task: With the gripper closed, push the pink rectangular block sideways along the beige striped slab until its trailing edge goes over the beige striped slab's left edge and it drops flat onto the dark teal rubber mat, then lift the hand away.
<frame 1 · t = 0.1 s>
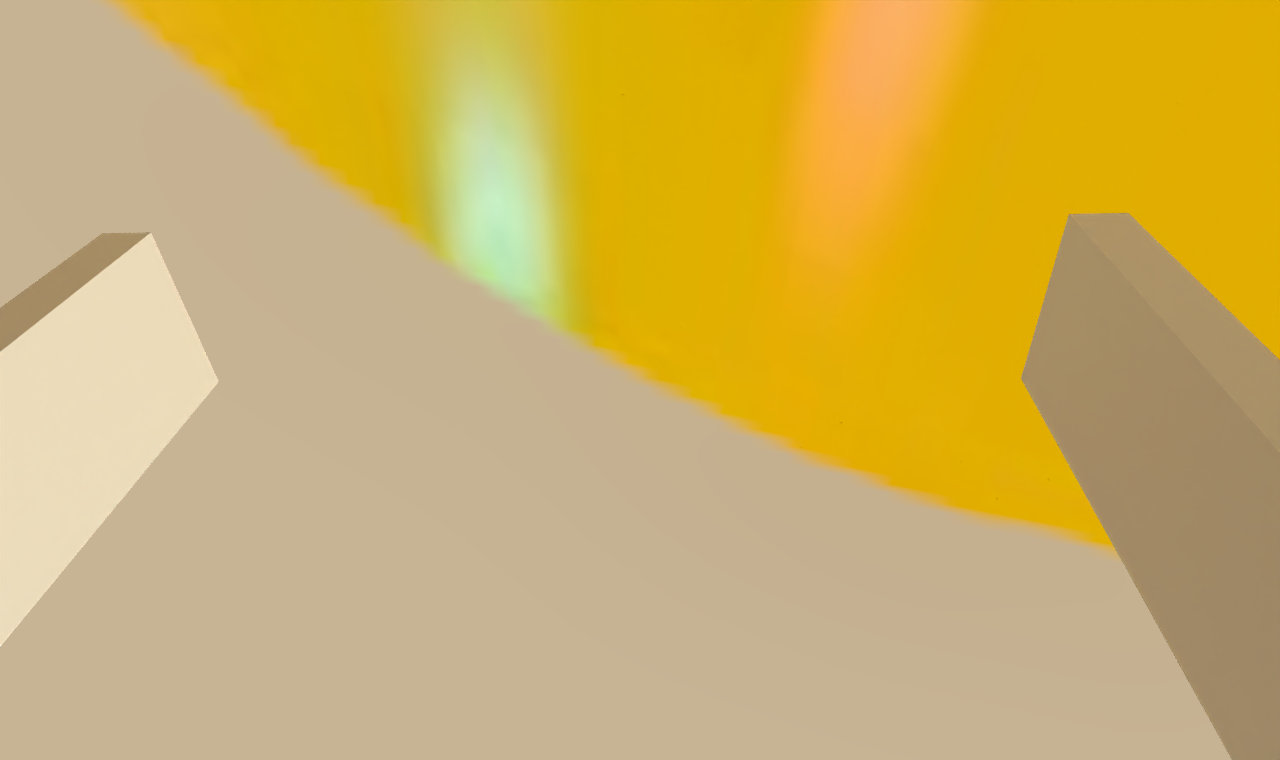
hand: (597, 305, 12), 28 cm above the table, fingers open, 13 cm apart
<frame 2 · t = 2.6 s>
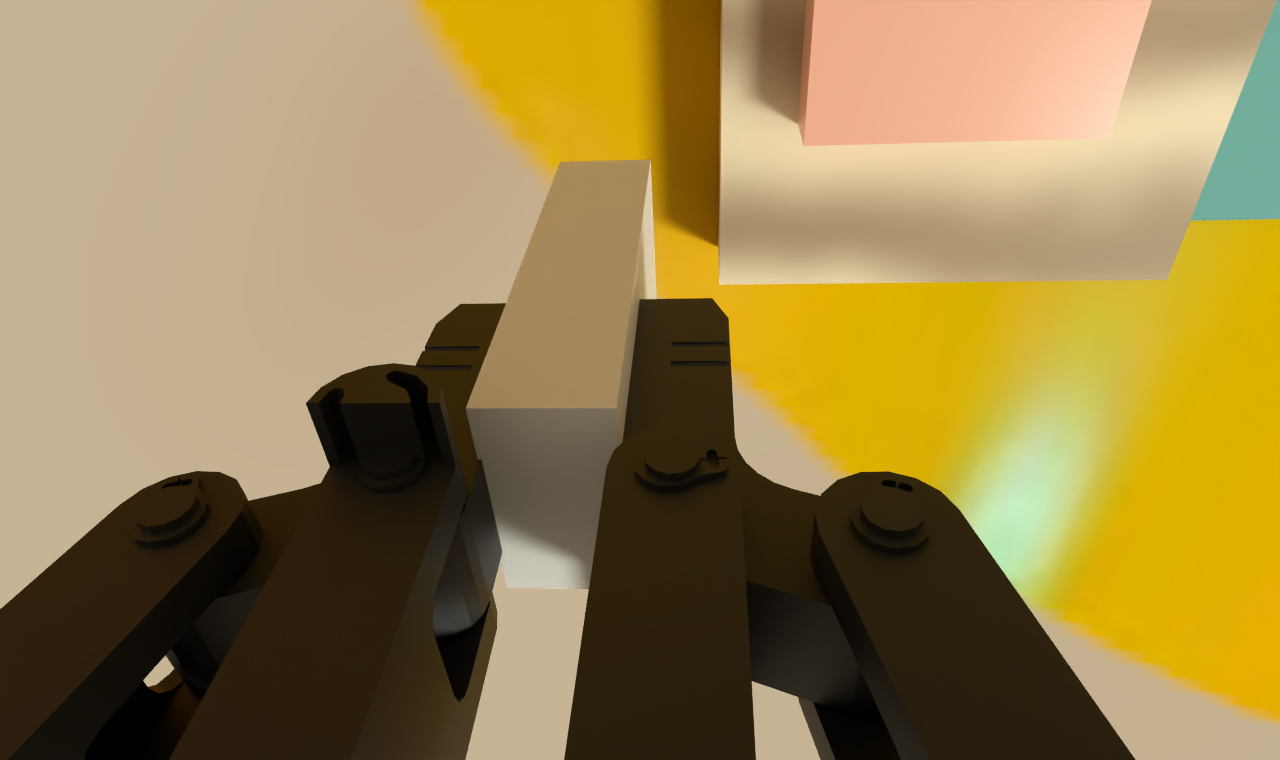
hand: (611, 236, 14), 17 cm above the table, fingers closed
pink rectangular block: (955, 20, 24), point 3 cm above the table, touching beige striped slab
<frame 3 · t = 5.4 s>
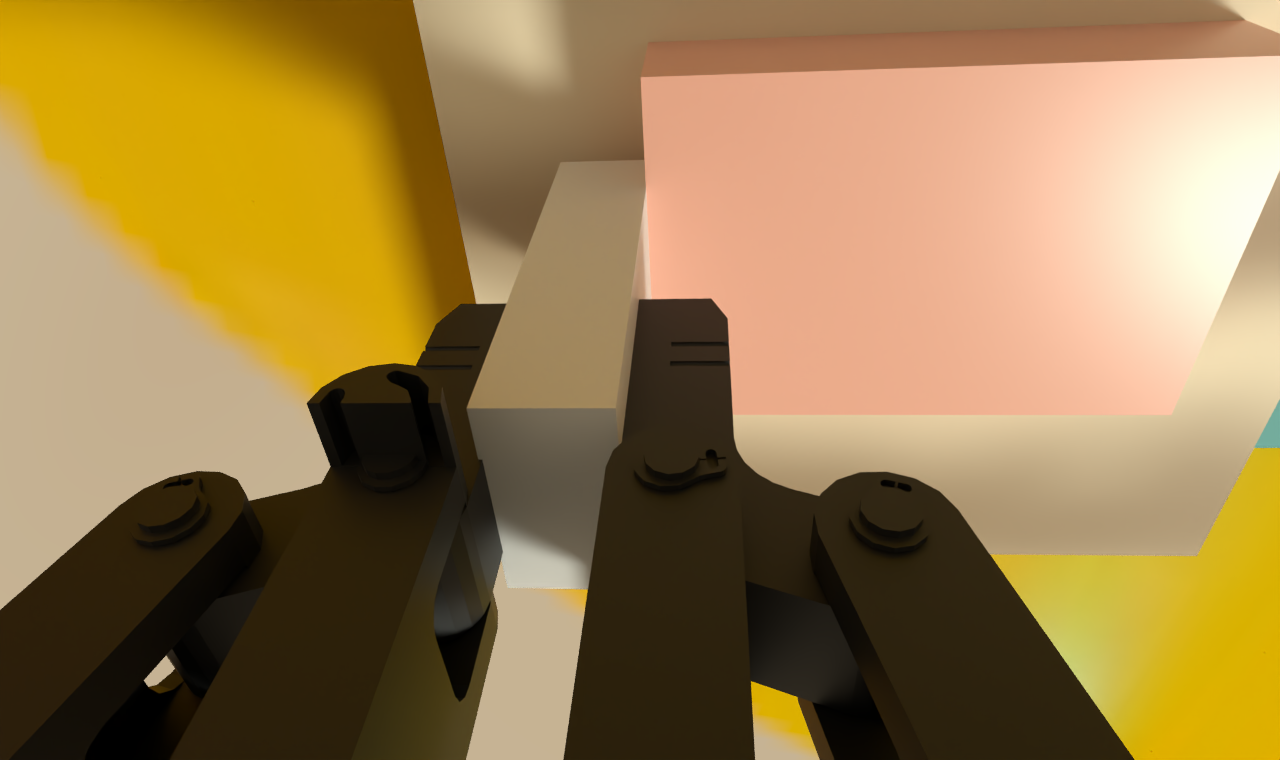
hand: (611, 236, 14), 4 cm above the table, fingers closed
beige striped slab: (871, 148, 16), on the table
pink rectangular block: (909, 212, 14), point 3 cm above the table, touching beige striped slab
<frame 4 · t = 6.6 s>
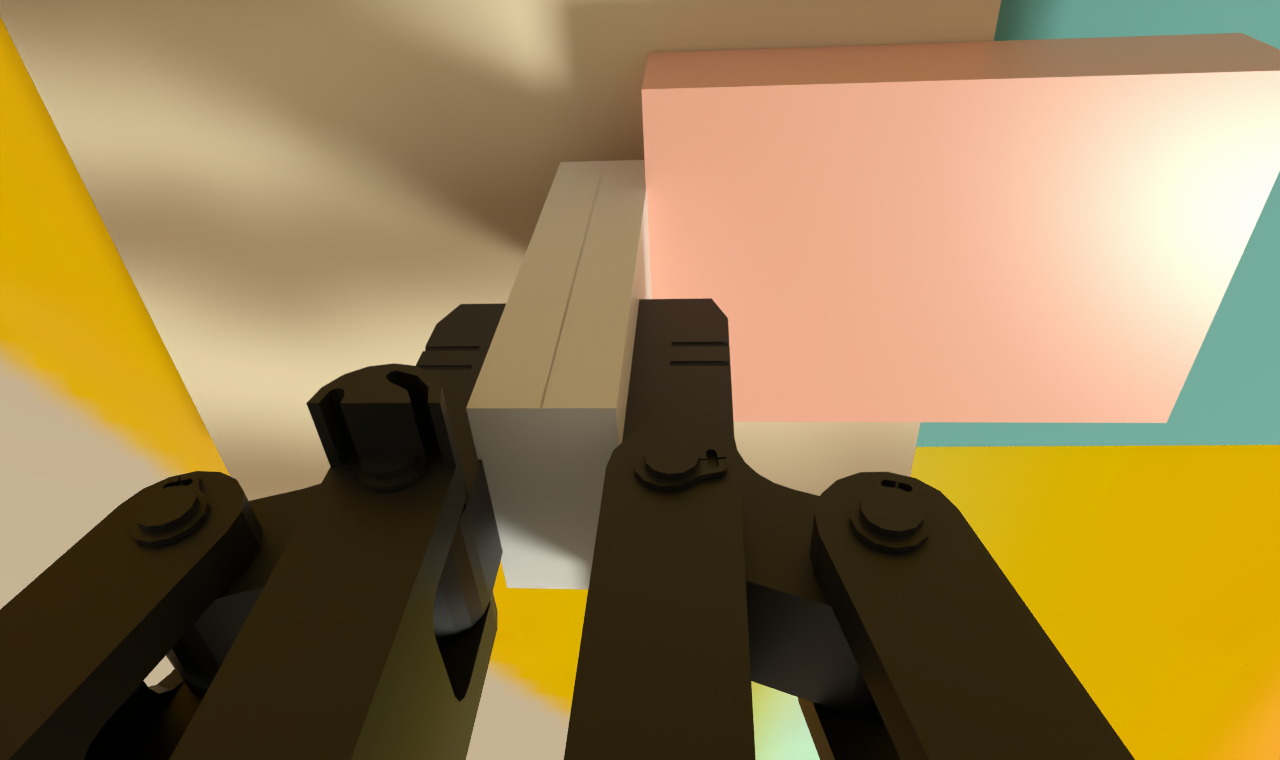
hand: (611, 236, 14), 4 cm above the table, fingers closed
beige striped slab: (541, 158, 17), on the table
pink rectangular block: (907, 220, 14), point 3 cm above the table, touching gripper
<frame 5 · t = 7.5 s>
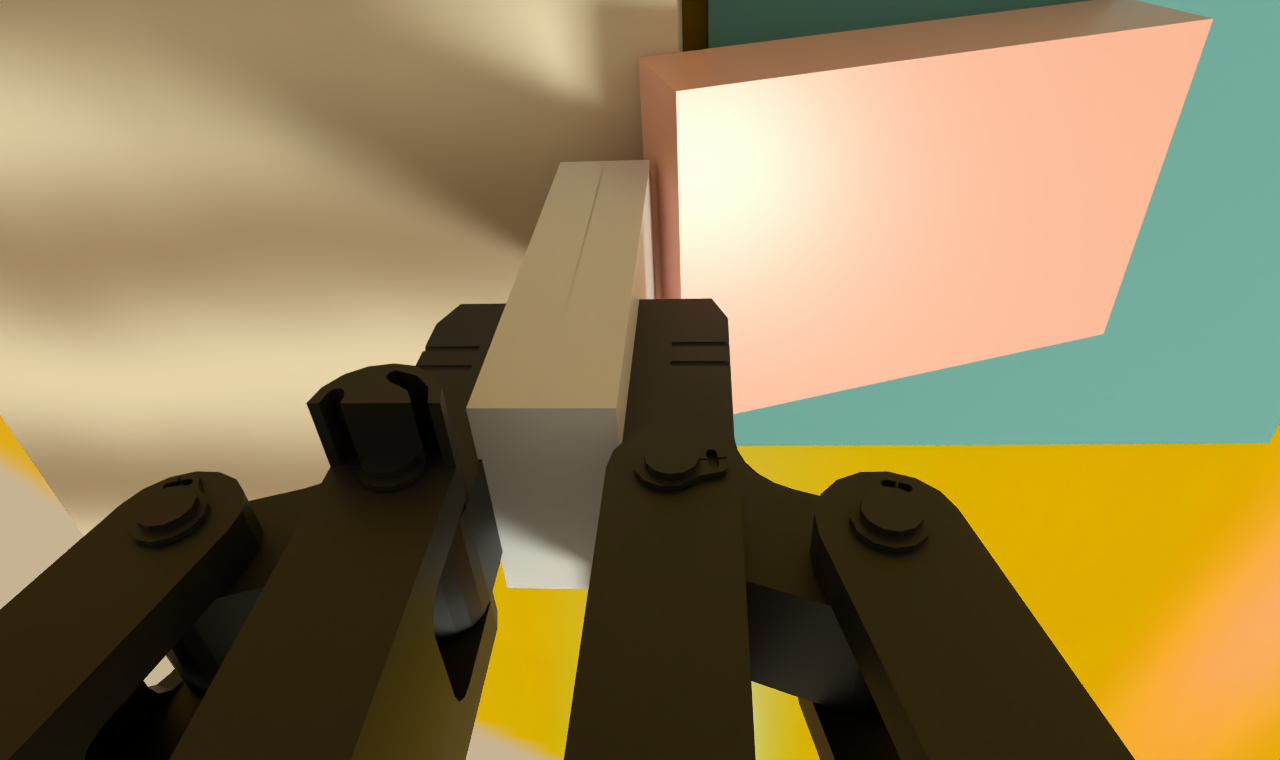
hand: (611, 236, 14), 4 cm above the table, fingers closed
beige striped slab: (321, 163, 17), on the table
pink rectangular block: (872, 192, 15), point 2 cm above the table, tilted 19°, touching gripper
mat: (1054, 137, 16), on the table
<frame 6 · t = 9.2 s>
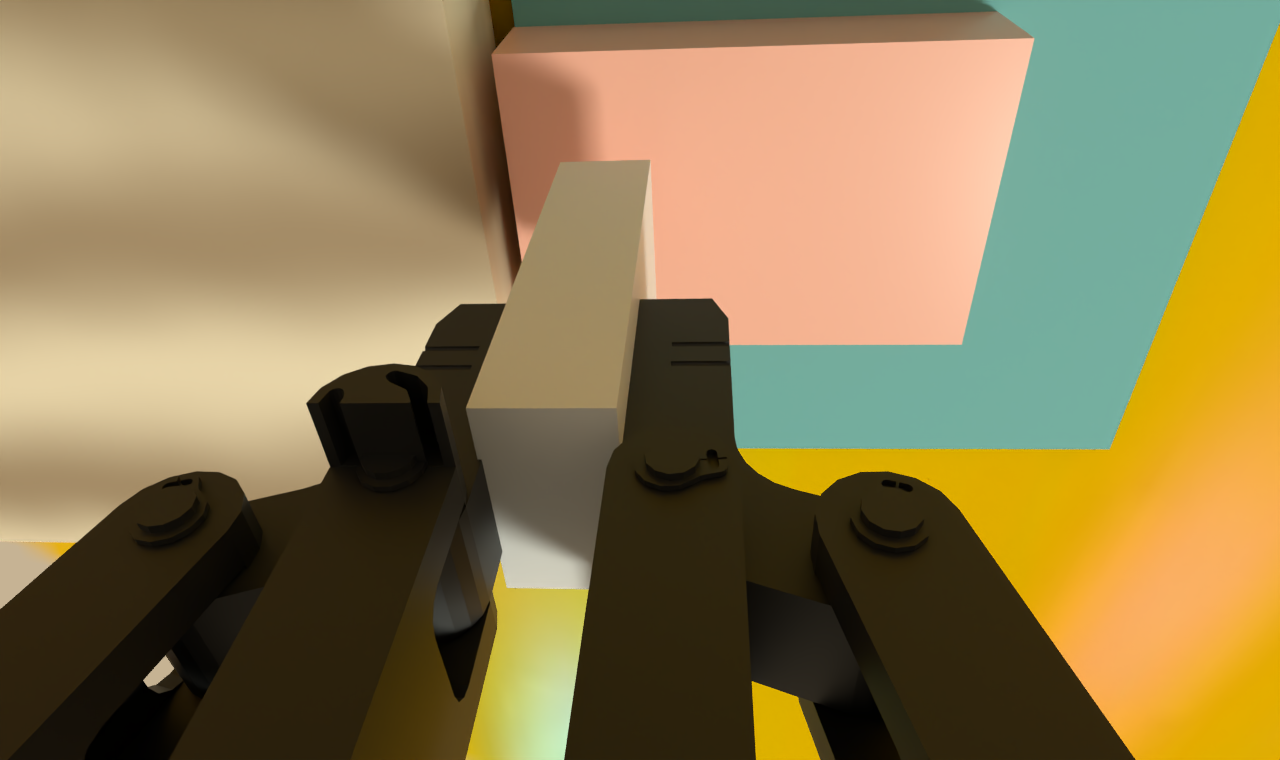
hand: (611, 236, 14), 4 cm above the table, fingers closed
beige striped slab: (160, 167, 18), on the table
pink rectangular block: (744, 173, 17), resting on mat
mat: (867, 148, 16), on the table
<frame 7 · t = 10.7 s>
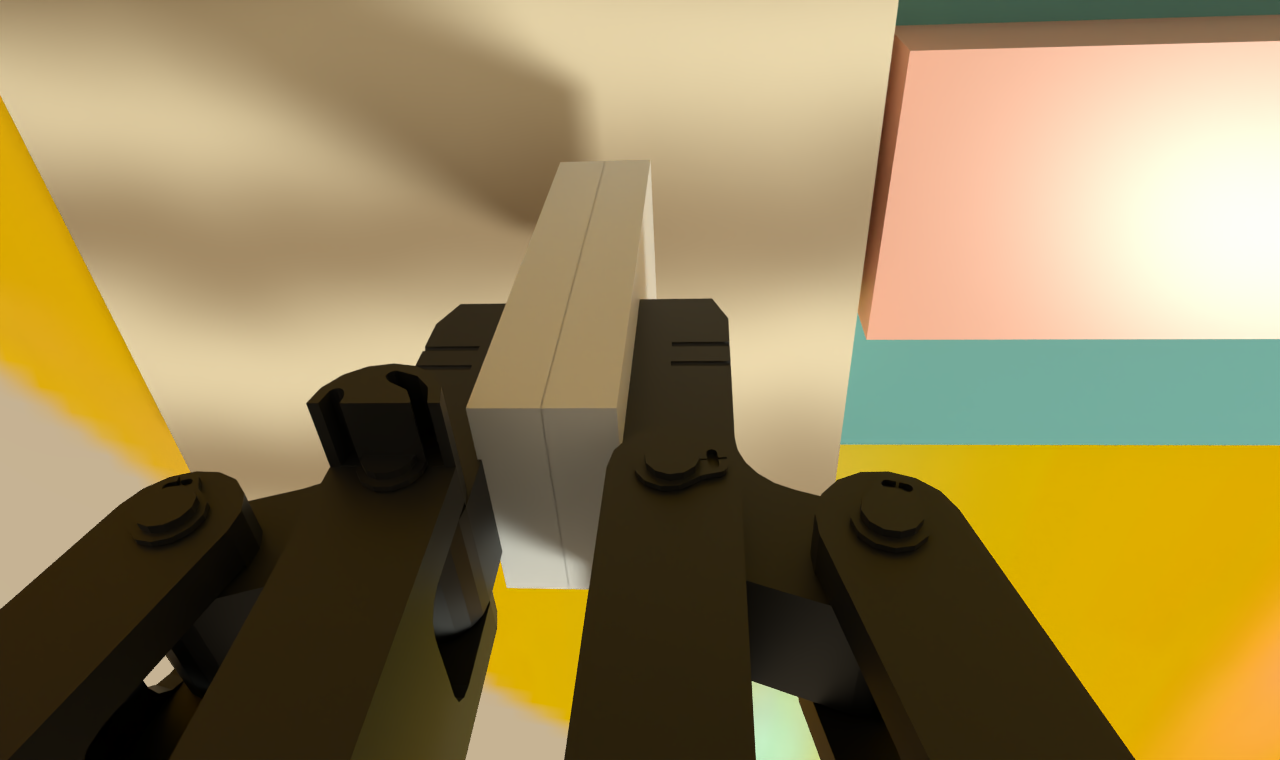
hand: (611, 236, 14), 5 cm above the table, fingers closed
beige striped slab: (486, 164, 18), on the table
pink rectangular block: (1082, 170, 17), resting on mat
mat: (1205, 146, 17), on the table
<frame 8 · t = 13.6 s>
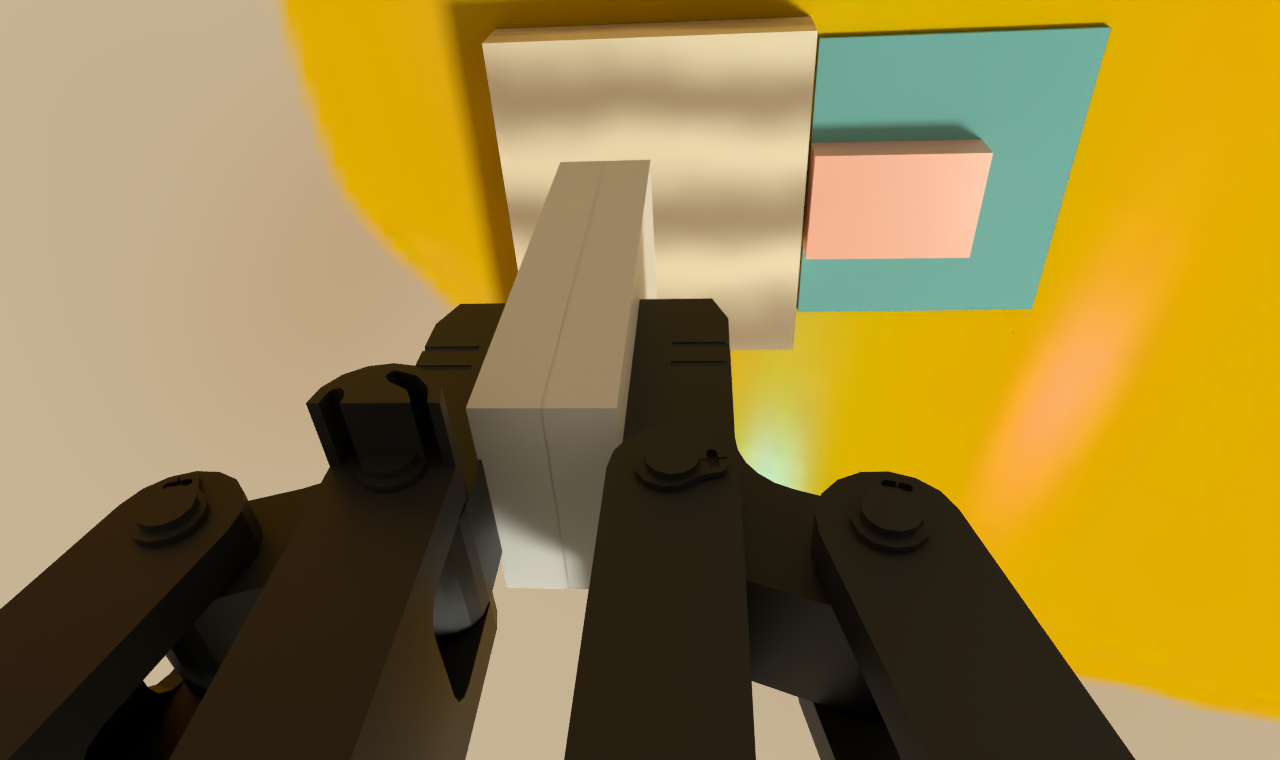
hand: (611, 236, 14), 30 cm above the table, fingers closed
beige striped slab: (656, 191, 45), on the table
pink rectangular block: (887, 193, 44), resting on mat
mat: (934, 184, 44), on the table
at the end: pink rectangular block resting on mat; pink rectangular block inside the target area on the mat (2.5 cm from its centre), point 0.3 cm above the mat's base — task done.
